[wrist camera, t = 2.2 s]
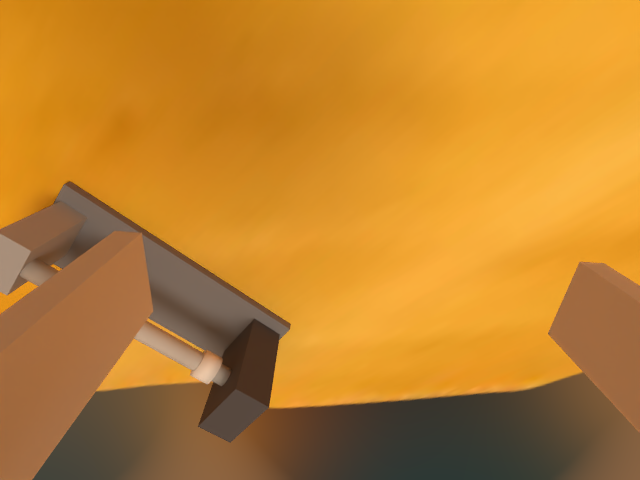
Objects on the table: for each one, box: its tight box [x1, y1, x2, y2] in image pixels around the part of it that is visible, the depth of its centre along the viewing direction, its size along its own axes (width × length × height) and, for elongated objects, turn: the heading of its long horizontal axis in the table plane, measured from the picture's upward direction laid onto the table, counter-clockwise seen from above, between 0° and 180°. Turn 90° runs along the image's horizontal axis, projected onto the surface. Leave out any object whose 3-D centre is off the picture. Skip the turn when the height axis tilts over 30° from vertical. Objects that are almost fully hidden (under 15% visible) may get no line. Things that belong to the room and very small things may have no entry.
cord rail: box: [0, 182, 290, 442], centre depth 37 cm, size 30×10×12 cm, turn 50°
